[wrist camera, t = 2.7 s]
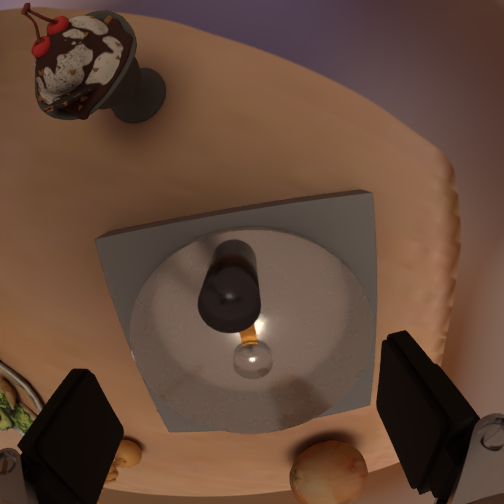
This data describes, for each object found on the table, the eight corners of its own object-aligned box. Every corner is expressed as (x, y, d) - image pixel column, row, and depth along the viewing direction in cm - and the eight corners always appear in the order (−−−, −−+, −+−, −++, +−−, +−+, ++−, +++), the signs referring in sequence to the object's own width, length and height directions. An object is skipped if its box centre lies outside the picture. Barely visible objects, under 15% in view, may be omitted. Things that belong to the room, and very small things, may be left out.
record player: (106, 250, 22) (47, 292, 14) (363, 207, 22) (423, 233, 13) (174, 428, 28) (160, 491, 19) (362, 403, 27) (388, 463, 19)
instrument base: (107, 232, 24) (93, 239, 22) (360, 189, 24) (373, 192, 21) (172, 417, 31) (168, 433, 28) (363, 390, 30) (370, 406, 28)
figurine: (136, 460, 34) (118, 524, 22) (99, 442, 33) (73, 505, 21) (152, 435, 32) (131, 510, 20) (109, 414, 31) (77, 486, 19)
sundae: (132, 48, 20) (36, -35, 6) (191, 81, 21) (126, -13, 7) (88, 110, 21) (-39, 82, 7) (144, 147, 23) (25, 136, 8)
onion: (293, 426, 31) (304, 494, 22) (368, 424, 32) (392, 482, 22) (278, 467, 34) (283, 525, 24) (344, 464, 35) (359, 517, 25)
